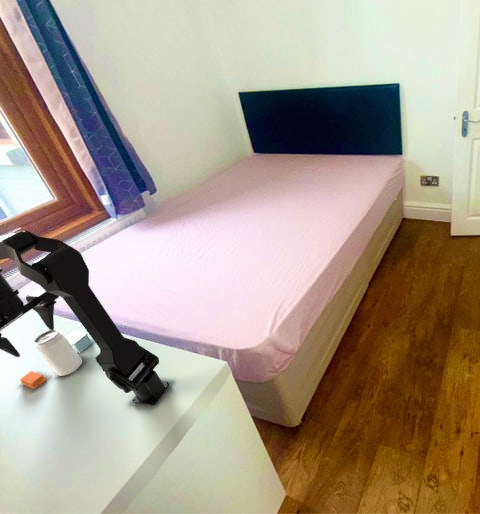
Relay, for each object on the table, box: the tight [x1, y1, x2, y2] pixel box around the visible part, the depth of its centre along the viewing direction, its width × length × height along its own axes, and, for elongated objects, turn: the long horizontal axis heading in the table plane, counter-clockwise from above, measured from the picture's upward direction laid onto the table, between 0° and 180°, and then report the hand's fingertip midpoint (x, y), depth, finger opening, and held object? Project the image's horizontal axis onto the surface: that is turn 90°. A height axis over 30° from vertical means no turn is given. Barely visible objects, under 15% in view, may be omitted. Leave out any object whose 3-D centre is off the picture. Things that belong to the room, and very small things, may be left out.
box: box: [65, 330, 93, 354], centre depth 108 cm, size 6×4×4 cm
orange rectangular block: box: [19, 370, 48, 390], centre depth 98 cm, size 6×3×2 cm, turn 67°
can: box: [33, 328, 83, 377], centre depth 98 cm, size 6×6×12 cm
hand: (35, 342), depth 89 cm, fingers open, 9 cm apart
